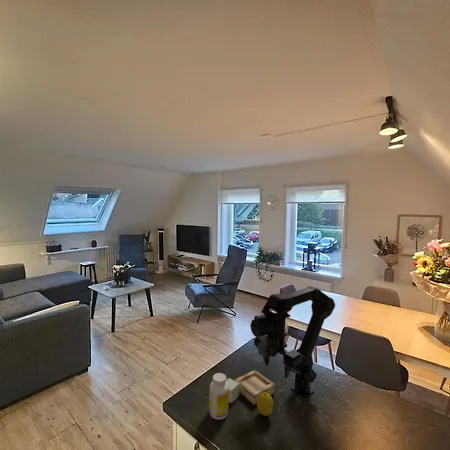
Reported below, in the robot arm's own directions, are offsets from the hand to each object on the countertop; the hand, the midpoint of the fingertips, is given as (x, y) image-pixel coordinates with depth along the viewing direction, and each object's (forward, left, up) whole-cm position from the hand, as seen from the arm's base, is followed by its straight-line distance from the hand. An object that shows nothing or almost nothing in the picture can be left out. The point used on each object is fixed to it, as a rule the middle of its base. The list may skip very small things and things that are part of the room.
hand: (276, 371), depth 93 cm
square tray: (+2, -9, -12) cm, 15 cm away
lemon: (+8, +2, -12) cm, 14 cm away
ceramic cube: (+12, -12, -12) cm, 21 cm away
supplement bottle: (+20, -8, -12) cm, 25 cm away
